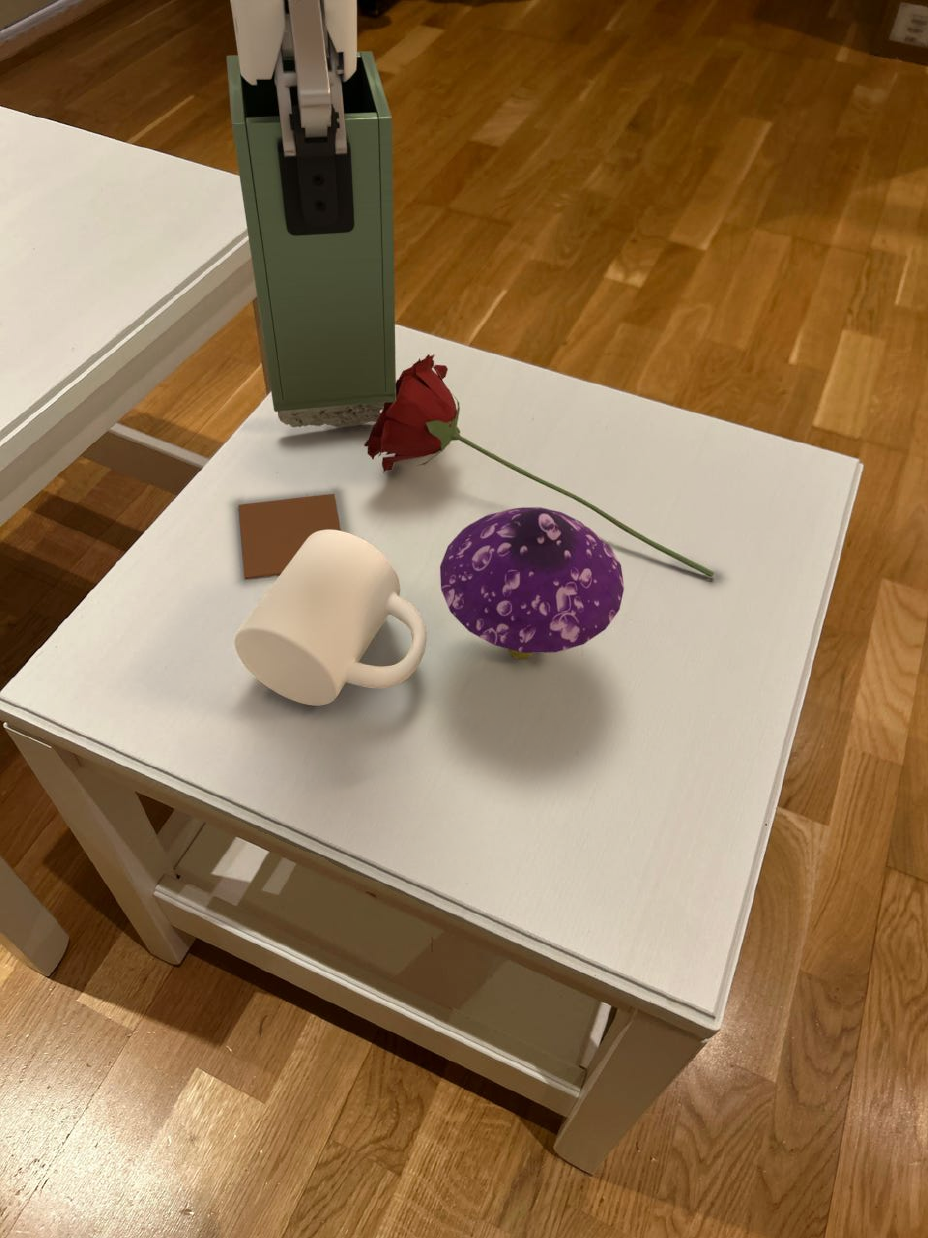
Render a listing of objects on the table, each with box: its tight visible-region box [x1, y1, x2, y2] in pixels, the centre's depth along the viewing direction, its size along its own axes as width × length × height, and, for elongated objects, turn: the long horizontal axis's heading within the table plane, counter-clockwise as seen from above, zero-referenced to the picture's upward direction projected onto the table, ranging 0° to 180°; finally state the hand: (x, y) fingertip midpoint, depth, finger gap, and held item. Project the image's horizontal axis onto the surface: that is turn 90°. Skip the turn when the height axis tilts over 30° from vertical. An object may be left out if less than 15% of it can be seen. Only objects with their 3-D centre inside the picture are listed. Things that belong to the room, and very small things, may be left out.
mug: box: [234, 530, 427, 707], centre depth 66 cm, size 12×10×8 cm
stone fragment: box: [277, 403, 385, 428], centre depth 82 cm, size 10×1×5 cm, turn 102°
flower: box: [363, 353, 715, 578], centre depth 77 cm, size 11×10×30 cm
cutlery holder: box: [226, 50, 397, 413], centre depth 49 cm, size 7×7×16 cm
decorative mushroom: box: [439, 506, 625, 660], centre depth 64 cm, size 12×12×15 cm
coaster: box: [237, 493, 342, 580], centre depth 76 cm, size 8×8×1 cm
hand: (313, 186), depth 47 cm, fingers closed on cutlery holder, 7 cm apart
